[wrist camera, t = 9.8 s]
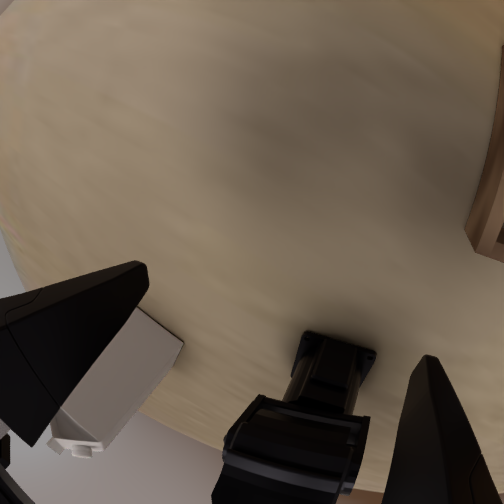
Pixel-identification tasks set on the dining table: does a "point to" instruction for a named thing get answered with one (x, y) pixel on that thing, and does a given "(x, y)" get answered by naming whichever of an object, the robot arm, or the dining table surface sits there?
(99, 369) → the milk carton
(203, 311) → the dining table surface
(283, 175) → the dining table surface
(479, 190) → the walled box
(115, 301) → the robot arm
